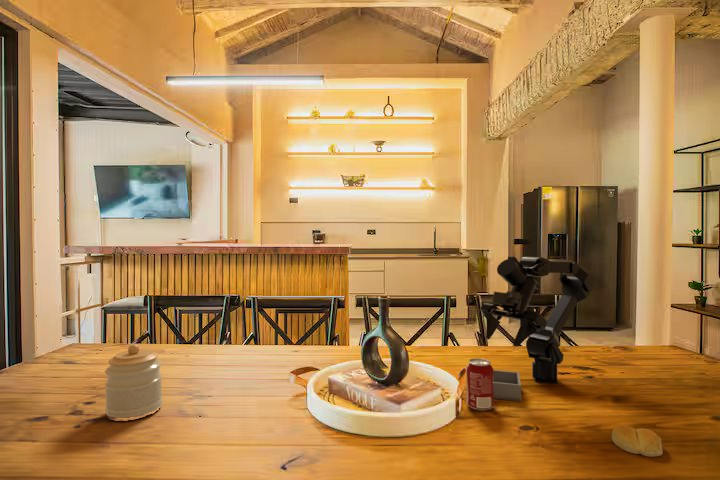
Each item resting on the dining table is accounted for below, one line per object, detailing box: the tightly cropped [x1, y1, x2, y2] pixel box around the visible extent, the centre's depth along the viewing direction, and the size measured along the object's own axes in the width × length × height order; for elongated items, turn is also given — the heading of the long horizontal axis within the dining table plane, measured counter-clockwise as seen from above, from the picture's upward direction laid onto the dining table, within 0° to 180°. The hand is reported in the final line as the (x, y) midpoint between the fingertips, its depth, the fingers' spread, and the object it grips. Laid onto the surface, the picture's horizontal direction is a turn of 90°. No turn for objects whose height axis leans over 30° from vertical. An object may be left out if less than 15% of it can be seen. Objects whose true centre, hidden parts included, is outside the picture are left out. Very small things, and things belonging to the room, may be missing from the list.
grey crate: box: [493, 369, 522, 403], centre depth 117 cm, size 11×11×4 cm
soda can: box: [466, 357, 495, 412], centre depth 107 cm, size 7×7×12 cm
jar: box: [104, 343, 163, 418], centre depth 107 cm, size 13×13×18 cm
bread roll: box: [611, 424, 664, 458], centre depth 87 cm, size 8×9×4 cm
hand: (500, 342), depth 115 cm, fingers open, 9 cm apart
